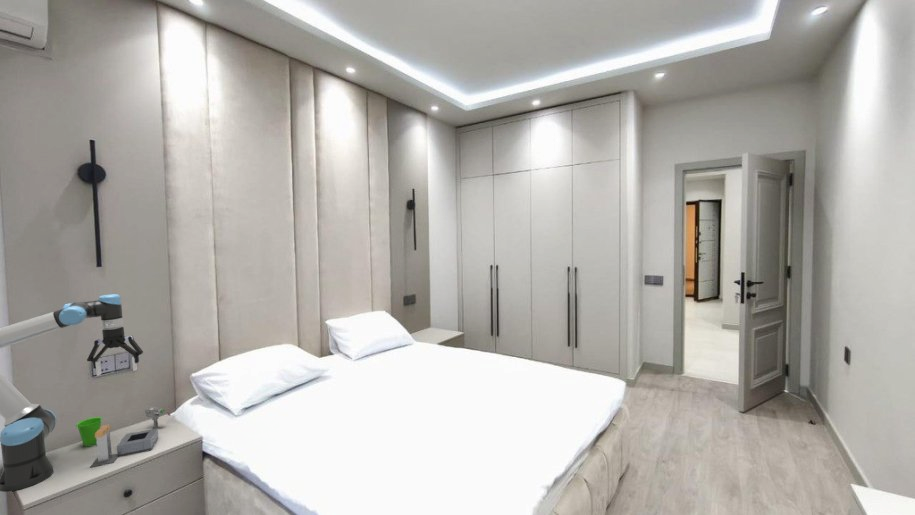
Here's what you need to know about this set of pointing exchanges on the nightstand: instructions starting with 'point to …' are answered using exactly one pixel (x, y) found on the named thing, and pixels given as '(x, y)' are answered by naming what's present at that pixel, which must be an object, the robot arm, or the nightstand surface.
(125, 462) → the nightstand surface
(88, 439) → the cup
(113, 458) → the mat
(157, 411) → the mechanical component
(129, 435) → the chuck block
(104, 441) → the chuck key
